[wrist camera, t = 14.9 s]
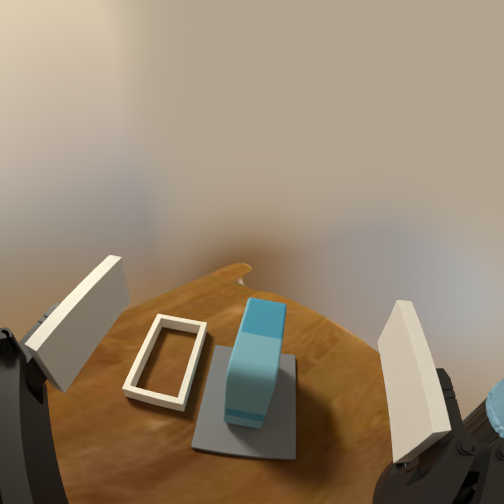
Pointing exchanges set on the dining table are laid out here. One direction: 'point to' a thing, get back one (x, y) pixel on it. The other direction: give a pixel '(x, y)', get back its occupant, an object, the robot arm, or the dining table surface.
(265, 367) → the blue rounded block
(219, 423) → the mat
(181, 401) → the cradle
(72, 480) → the dining table surface
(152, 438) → the dining table surface
